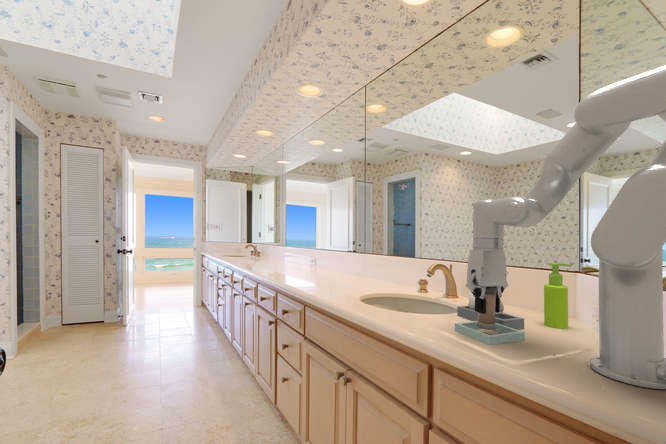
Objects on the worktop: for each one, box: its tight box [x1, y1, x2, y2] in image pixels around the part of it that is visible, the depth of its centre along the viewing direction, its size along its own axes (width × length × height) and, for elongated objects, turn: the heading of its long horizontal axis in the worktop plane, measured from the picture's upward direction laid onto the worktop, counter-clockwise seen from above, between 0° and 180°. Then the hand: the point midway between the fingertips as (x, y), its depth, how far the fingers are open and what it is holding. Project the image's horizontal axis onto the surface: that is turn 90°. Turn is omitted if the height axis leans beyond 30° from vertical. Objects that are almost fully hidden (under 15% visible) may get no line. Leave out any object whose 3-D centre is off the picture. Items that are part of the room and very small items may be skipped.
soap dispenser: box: [543, 262, 572, 330], centre depth 94 cm, size 6×7×20 cm
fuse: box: [468, 285, 475, 311], centre depth 102 cm, size 5×5×11 cm
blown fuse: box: [477, 287, 497, 331], centre depth 84 cm, size 5×5×11 cm
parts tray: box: [454, 321, 526, 346], centre depth 84 cm, size 12×12×3 cm
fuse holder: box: [456, 305, 525, 331], centre depth 97 cm, size 18×8×4 cm, turn 21°
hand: (487, 311), depth 84 cm, fingers closed on blown fuse, 4 cm apart
